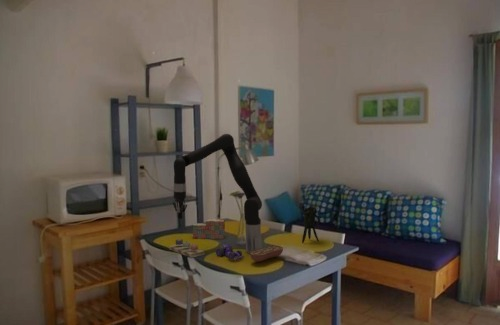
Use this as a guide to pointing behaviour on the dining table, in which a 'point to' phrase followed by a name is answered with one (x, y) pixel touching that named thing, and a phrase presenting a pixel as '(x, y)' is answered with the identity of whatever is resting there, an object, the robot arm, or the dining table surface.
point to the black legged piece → (309, 221)
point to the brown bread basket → (266, 253)
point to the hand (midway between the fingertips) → (179, 218)
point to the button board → (186, 251)
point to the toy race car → (228, 252)
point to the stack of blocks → (210, 229)
